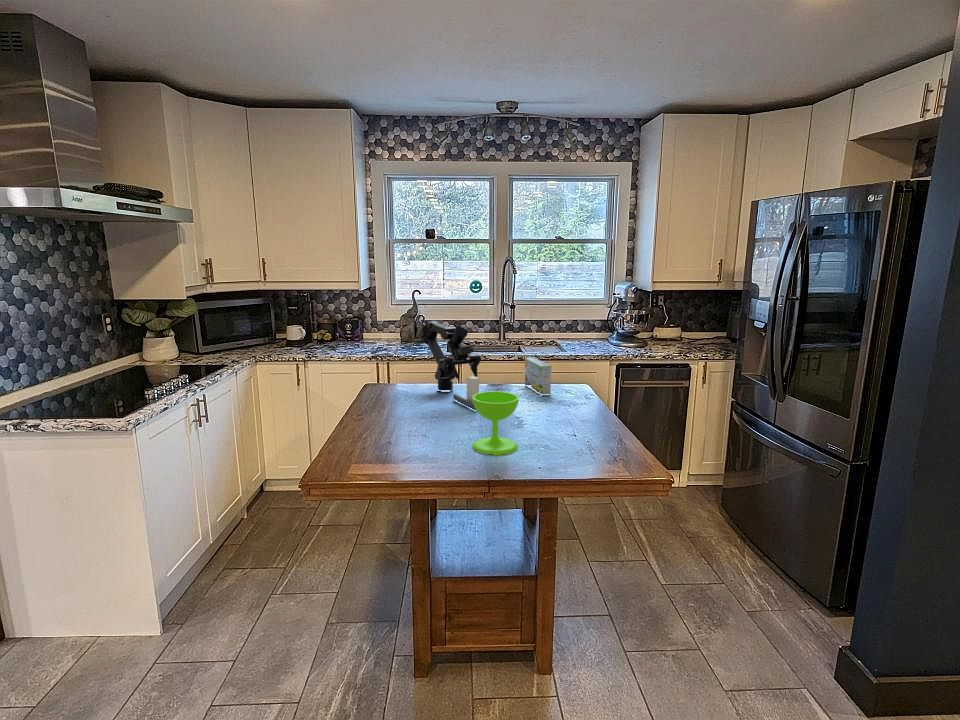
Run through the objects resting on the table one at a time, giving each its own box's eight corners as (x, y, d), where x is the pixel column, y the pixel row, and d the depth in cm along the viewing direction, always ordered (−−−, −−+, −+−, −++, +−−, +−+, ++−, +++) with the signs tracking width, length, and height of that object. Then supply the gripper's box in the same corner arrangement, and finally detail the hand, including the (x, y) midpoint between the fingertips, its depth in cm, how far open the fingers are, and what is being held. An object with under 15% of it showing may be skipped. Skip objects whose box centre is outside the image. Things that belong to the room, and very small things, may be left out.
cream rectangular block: (466, 402, 236) (466, 376, 234) (473, 401, 238) (473, 375, 235) (472, 405, 232) (472, 379, 230) (478, 404, 234) (479, 378, 231)
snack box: (523, 386, 270) (524, 357, 267) (533, 385, 271) (534, 357, 268) (540, 396, 250) (541, 365, 247) (551, 395, 251) (552, 365, 249)
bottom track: (453, 400, 241) (453, 394, 241) (470, 398, 246) (470, 392, 245) (475, 411, 224) (475, 404, 224) (492, 409, 229) (492, 402, 228)
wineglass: (526, 450, 180) (528, 399, 177) (486, 458, 172) (487, 406, 169) (502, 436, 194) (502, 389, 190) (463, 443, 186) (464, 394, 183)
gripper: (443, 341, 233) (455, 370, 226) (480, 338, 242) (492, 365, 235) (436, 355, 241) (447, 383, 234) (471, 352, 251) (483, 379, 243)
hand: (467, 377), depth 237 cm, fingers open, 9 cm apart
